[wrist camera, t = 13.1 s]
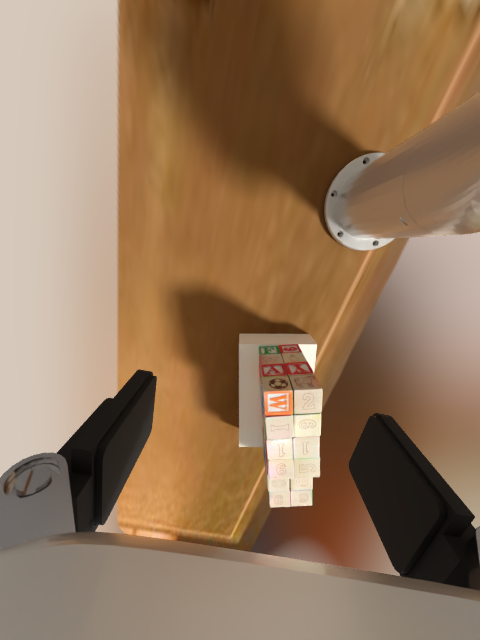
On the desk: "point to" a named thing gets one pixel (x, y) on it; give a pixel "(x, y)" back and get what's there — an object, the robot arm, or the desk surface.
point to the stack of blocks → (289, 424)
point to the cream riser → (251, 385)
